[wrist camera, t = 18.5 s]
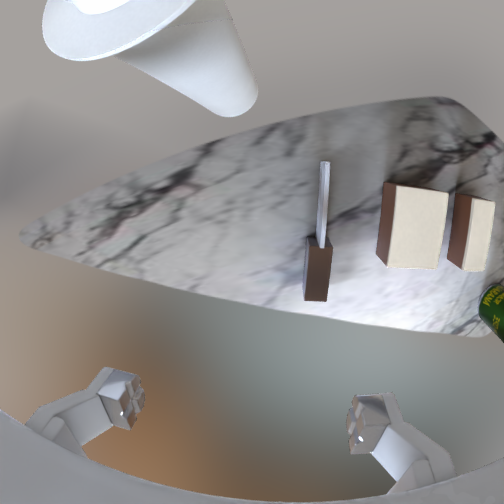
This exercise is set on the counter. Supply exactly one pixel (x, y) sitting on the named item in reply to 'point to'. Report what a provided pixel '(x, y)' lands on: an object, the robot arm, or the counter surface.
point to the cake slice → (471, 232)
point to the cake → (411, 226)
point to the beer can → (493, 309)
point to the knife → (319, 247)
